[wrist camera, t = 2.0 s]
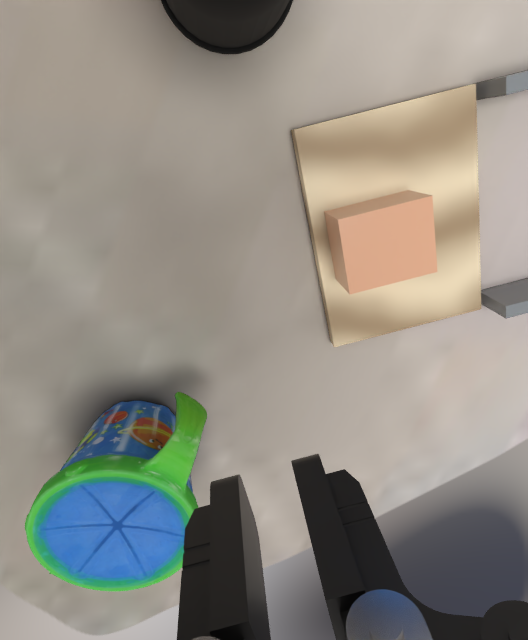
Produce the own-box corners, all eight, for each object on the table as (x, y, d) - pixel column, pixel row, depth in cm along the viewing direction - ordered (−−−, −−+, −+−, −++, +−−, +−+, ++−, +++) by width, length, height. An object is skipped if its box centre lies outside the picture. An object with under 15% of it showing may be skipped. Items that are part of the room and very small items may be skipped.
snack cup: (127, 517, 39) (100, 634, 30) (28, 456, 35) (-39, 568, 26) (249, 413, 36) (262, 506, 27) (155, 334, 32) (132, 411, 23)
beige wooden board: (291, 130, 28) (294, 129, 27) (465, 85, 28) (475, 83, 27) (330, 340, 34) (334, 347, 33) (472, 303, 34) (481, 309, 33)
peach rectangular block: (323, 211, 29) (337, 219, 26) (408, 190, 29) (432, 195, 26) (335, 279, 31) (349, 294, 28) (414, 258, 31) (437, 271, 28)
